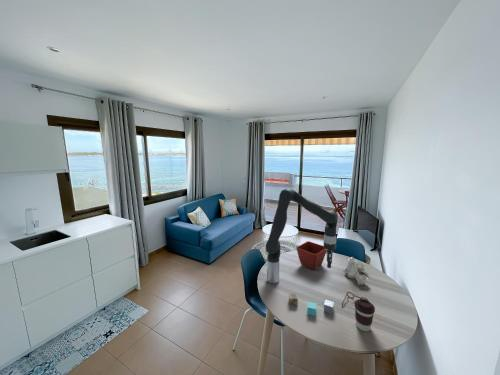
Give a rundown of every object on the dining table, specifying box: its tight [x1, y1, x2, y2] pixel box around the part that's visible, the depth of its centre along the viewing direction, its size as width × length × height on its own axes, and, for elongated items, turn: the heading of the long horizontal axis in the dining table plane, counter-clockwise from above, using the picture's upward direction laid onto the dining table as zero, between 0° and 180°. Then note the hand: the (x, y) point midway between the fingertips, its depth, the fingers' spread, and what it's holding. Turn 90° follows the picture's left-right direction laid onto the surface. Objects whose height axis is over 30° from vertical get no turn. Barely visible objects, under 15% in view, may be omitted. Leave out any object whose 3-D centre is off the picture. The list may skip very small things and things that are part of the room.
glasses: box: [341, 291, 368, 308], centre depth 130 cm, size 13×13×5 cm
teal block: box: [306, 301, 317, 317], centre depth 126 cm, size 5×5×5 cm
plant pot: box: [296, 240, 326, 271], centre depth 178 cm, size 19×19×17 cm
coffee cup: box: [354, 298, 376, 332], centre depth 114 cm, size 10×10×15 cm
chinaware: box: [343, 256, 369, 286], centre depth 160 cm, size 28×17×17 cm, turn 160°
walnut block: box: [288, 292, 299, 307], centre depth 135 cm, size 5×5×5 cm
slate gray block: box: [323, 299, 335, 315], centre depth 128 cm, size 5×5×5 cm
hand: (328, 264), depth 135 cm, fingers open, 8 cm apart
